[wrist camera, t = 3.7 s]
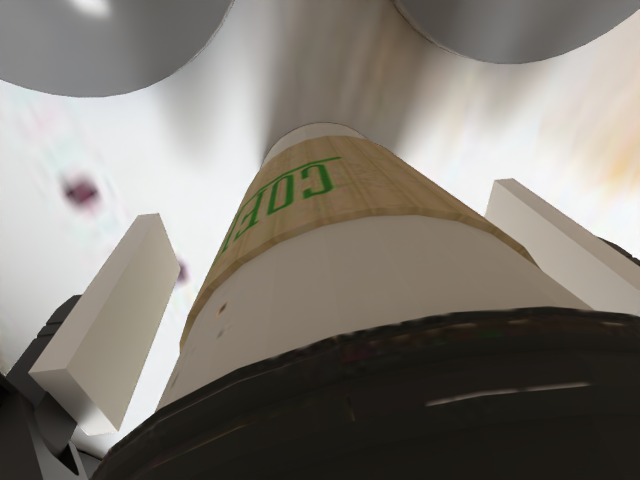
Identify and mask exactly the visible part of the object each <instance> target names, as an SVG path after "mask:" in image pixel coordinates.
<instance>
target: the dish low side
mask: <svg viewBox="0 0 640 480" xmlns="http://www.w3.org/2000/svg"><path fill="white" fill-rule="evenodd" d="M392 2H393V3H394V5H395V6H396V7H397V9H398V10H399V12H400V13H401V15H402V16H403V17H404V18H405V19H406V20H407V21H408V22H409V23H410V24H411V26H412V27H413V28H414V29H415V30H416V31H418V32H419V33H420V34H421V35H423V36H424V37H425V38H426V39H428V40H429V41H430V42H432V43H433V44H435V45H437V46H439V47H441V48H442V49H444V50H446V51H448V52H451V53H454V54H457V55H460V56H463V57H465V58H470V59H474V60H479V61H484V62H491V63H497V64H522V63H529V62H536V61H542V60H545V59H548V58H552V57H555V56H558V55H562V54H564V53H567V52H569V51H571V50H574V49H576V48H578V47H581V46H583V45H585V44H587V43H589V42H591V41H592V40H594V39H596V38H598V37H599V36H601V35H603V34H605V33H607V32H608V31H610V30H611V29H613V28H614V27H615V26H617V25H618V24H620V23H621V22H623V21H624V20H626V19H627V18H628V17H630V16H631V15H632V14H634V13H635V12H636V11H637V10H638V9H640V0H392Z"/></svg>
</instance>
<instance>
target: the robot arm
mask: <svg viewBox="0 0 640 480" xmlns="http://www.w3.org/2000/svg"><path fill="white" fill-rule="evenodd" d="M484 218H485V219H487V220H488V221H489V222H491V223H492V224H494V225H495V226H497V227H498V228H499V229H501V230H502V231H503V232H505V233H506V234H508V235H509V236H510V237H512V238H513V239H514V240H516V241H517V242H519V243H520V244H521V245H523V246H524V247H525V248H526V250H527V251H528V252H529V254H530V255H531V256H532V258H533V259H534V261H535V262H536V263H537V265H538V266H539V267H540V269H541V270H542V271H543V272H544V273H546V274H547V275H549V276H550V277H551V278H553V279H554V280H555V281H557V282H558V283H559V284H561V285H562V286H563V287H565V288H566V289H567V290H569V291H570V292H571V293H573V294H574V295H575V296H577V297H578V298H579V299H581V300H582V301H583V302H585V303H586V304H587V305H589V306H590V307H591V308H593V309H594V310H595V311H606V312H616V313H627V314H633V315H636V316H639V317H640V260H638V259H637V258H635V257H634V258H633V257H632V255H631V254H629V253H628V252H626V251H625V250H624V249H622V248H621V247H619V246H618V245H616V244H613V243H611V242H609V241H607V240H604V239H602V238H600V237H596V236H595V235H593V234H592V233H591V232H589V231H588V230H586V229H585V228H583V227H582V226H581V225H579V224H578V223H576V222H575V221H573V220H572V219H571V218H569V217H568V216H566V215H565V214H563V213H562V212H560V211H559V210H558V209H556V208H555V207H553V206H552V205H550V204H549V203H548V202H546V201H545V200H543V199H542V198H540V197H539V196H538V195H536V194H535V193H533V192H532V191H530V190H529V189H527V188H526V187H525V186H523V185H522V184H520V183H519V182H517V181H516V180H515V179H513V178H511V179H501V180H494V183H493V187H492V191H491V195H490V198H489V202H488V206H487V210H486V214H485V217H484ZM180 270H181V269H180V266H179V264H178V261H177V259H176V256H175V254H174V251H173V248H172V246H171V243H170V241H169V238H168V235H167V233H166V230H165V228H164V225H163V222H162V220H161V217H160V215H159V213H157V214H147V215H138V216H137V218H136V219H135V221H134V222H133V224H132V225H131V226H130V228H129V229H128V231H127V232H126V234H125V235H124V236H123V238H122V239H121V241H120V242H119V244H118V245H117V246H116V248H115V249H114V251H113V252H112V254H111V255H110V256H109V258H108V259H107V261H106V262H105V264H104V265H103V266H102V268H101V269H100V271H99V272H98V274H97V275H96V276H95V278H94V279H93V281H92V282H91V284H90V285H89V286H88V288H87V289H86V291H85V292H84V294H83V295H74V296H72V297H71V298H70V299H68V300H67V301H66V302H65V303H64V304H62V305H61V306H60V307H59V308H57V309H56V311H55V312H54V313H53V315H52V316H51V317H50V319H49V320H48V321H47V323H46V326H44V327H43V328H42V329H41V331H40V332H39V333H38V335H37V338H36V339H34V340H33V341H32V343H31V344H30V345H29V346H28V348H27V349H26V350H25V352H24V353H23V354H22V356H21V357H20V358H19V360H18V361H17V362H16V364H15V365H14V366H13V368H12V369H11V370H10V372H9V373H8V374H7V376H6V377H5V376H4V375H3V374H2V373H1V372H0V480H89V479H90V477H91V476H92V474H93V473H94V471H95V470H96V468H97V467H98V466H99V464H100V463H101V461H100V460H98V459H96V458H94V457H92V456H89V455H87V454H84V453H81V452H78V451H77V449H76V446H75V445H74V444H73V443H72V442H71V441H70V438H71V436H72V434H73V432H74V430H75V428H76V426H77V425H78V426H79V427H80V428H81V429H82V430H83V431H84V432H85V433H86V435H87V436H92V435H99V434H107V433H114V432H118V431H119V429H120V426H121V424H122V421H123V418H124V416H125V413H126V411H127V408H128V405H129V403H130V400H131V398H132V395H133V392H134V390H135V387H136V385H137V382H138V379H139V377H140V374H141V371H142V369H143V366H144V364H145V361H146V358H147V356H148V353H149V351H150V348H151V345H152V343H153V340H154V338H155V335H156V332H157V330H158V327H159V325H160V322H161V319H162V317H163V314H164V312H165V309H166V306H167V304H168V301H169V299H170V296H171V293H172V291H173V288H174V286H175V283H176V280H177V278H178V275H179V273H180Z"/></svg>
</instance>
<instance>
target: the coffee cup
mask: <svg viewBox="0 0 640 480" xmlns="http://www.w3.org/2000/svg"><path fill="white" fill-rule="evenodd" d="M89 480H640V317H639V316H636V315H633V314H627V313H616V312H606V311H595V310H594V309H593V308H591V307H590V306H589V305H587V304H586V303H585V302H583V301H582V300H581V299H579V298H578V297H577V296H575V295H574V294H573V293H571V292H570V291H569V290H567V289H566V288H565V287H563V286H562V285H561V284H559V283H558V282H557V281H555V280H554V279H553V278H551V277H550V276H549V275H547V274H546V273H544V272H543V271H542V270H541V269H540V267H539V266H538V265H537V263H536V262H535V261H534V259H533V258H532V256H531V255H530V254H529V252H528V251H527V250H526V248H525V247H524V246H523V245H521V244H520V243H519V242H517V241H516V240H514V239H513V238H512V237H510V236H509V235H508V234H506V233H505V232H503V231H502V230H501V229H499V228H498V227H497V226H495V225H494V224H492V223H491V222H489V221H488V220H487V219H485V218H484V217H482V216H481V215H480V214H478V213H477V212H475V211H474V210H472V209H471V208H470V207H468V206H467V205H465V204H464V203H462V202H461V201H460V200H458V199H457V198H455V197H454V196H452V195H451V194H450V193H448V192H447V191H445V190H444V189H443V188H441V187H440V186H438V185H437V184H435V183H434V182H433V181H431V180H430V179H428V178H427V177H425V176H424V175H423V174H421V173H420V172H418V171H417V170H415V169H414V168H413V167H411V166H410V165H408V164H407V163H406V162H404V161H403V160H401V159H400V158H398V157H397V156H396V155H394V154H393V153H391V152H390V151H388V150H387V149H386V148H384V147H383V146H380V145H378V144H376V143H373V142H371V141H369V140H368V139H366V138H365V137H364V136H362V135H361V134H360V133H358V132H357V131H355V130H353V129H351V128H348V127H346V126H344V125H339V124H334V123H314V124H309V125H304V126H302V127H299V128H297V129H295V130H292V131H291V132H289V133H288V134H286V135H285V136H283V137H282V138H281V139H280V140H279V141H278V142H277V143H276V144H275V145H274V146H273V147H272V148H271V150H270V151H269V153H268V154H267V156H266V158H265V159H264V162H263V164H262V166H261V169H260V171H259V172H258V173H257V175H256V176H255V178H254V179H253V181H252V183H251V184H250V186H249V188H248V190H247V192H246V194H245V196H244V198H243V200H242V202H241V204H240V206H239V209H238V211H237V213H236V215H235V217H234V219H233V221H232V223H231V226H230V228H229V230H228V232H227V234H226V236H225V238H224V240H223V243H222V245H221V247H220V249H219V251H218V253H217V255H216V257H215V259H214V262H213V264H212V266H211V268H210V270H209V272H208V274H207V276H206V279H205V281H204V283H203V285H202V287H201V289H200V291H199V293H198V296H197V298H196V300H195V302H194V304H193V306H192V308H191V310H190V312H189V315H188V317H187V321H186V324H185V327H184V330H183V334H182V337H181V340H180V356H179V358H178V360H177V363H176V365H175V367H174V369H173V372H172V374H171V376H170V379H169V381H168V383H167V385H166V388H165V390H164V392H163V394H162V397H161V399H160V401H159V404H158V406H157V408H156V410H155V413H154V414H153V415H152V416H150V417H149V418H148V419H146V420H145V421H144V422H143V423H141V424H140V425H139V426H138V427H136V428H135V429H134V430H133V431H131V432H130V433H129V434H128V435H126V436H125V437H124V438H123V439H121V440H120V441H119V442H118V443H116V444H115V445H114V446H113V447H111V448H110V449H109V451H108V452H107V454H106V455H105V457H104V458H103V460H102V461H101V463H100V464H99V466H98V467H97V468H96V470H95V471H94V473H93V474H92V476H91V477H90V479H89Z"/></svg>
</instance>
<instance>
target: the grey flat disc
mask: <svg viewBox="0 0 640 480" xmlns="http://www.w3.org/2000/svg"><path fill="white" fill-rule="evenodd" d="M234 1H235V0H0V80H3V81H6V82H9V83H12V84H15V85H18V86H21V87H24V88H27V89H31V90H36V91H40V92H44V93H49V94H53V95H62V96H71V97H107V96H114V95H120V94H126V93H130V92H133V91H136V90H139V89H143V88H146V87H148V86H150V85H152V84H154V83H156V82H158V81H160V80H162V79H164V78H166V77H168V76H170V75H172V74H174V73H176V72H177V71H178V70H180V69H181V68H183V67H184V66H185V65H187V64H188V63H189V62H191V61H192V60H193V59H194V58H195V57H196V56H197V55H198V54H199V53H200V52H201V51H202V50H203V49H204V48H205V47H206V46H207V45H208V44H209V43H210V41H211V40H212V39H213V37H214V36H215V35H216V33H217V32H218V30H219V29H220V28H221V26H222V25H223V23H224V21H225V19H226V17H227V15H228V13H229V11H230V9H231V7H232V6H233V4H234Z"/></svg>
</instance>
